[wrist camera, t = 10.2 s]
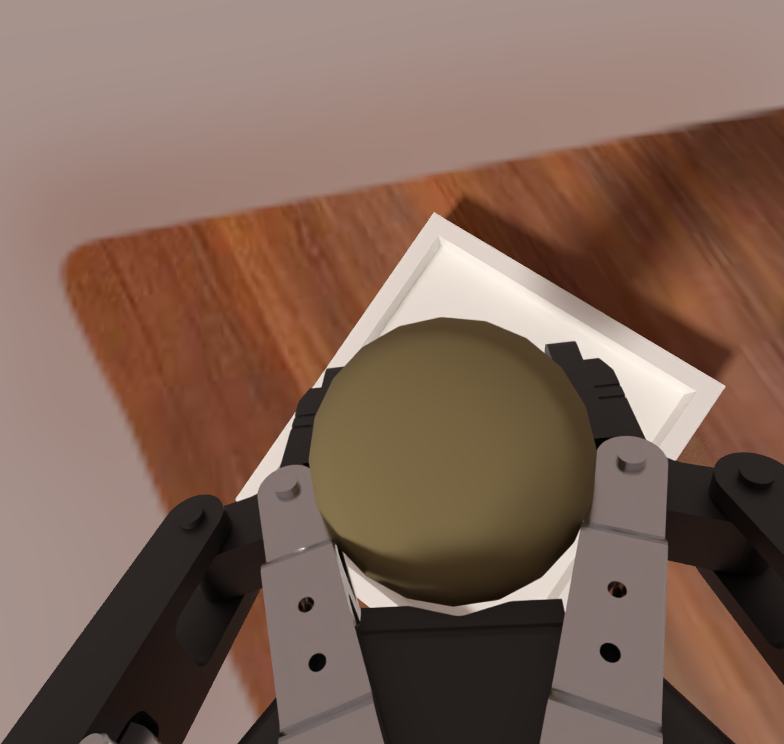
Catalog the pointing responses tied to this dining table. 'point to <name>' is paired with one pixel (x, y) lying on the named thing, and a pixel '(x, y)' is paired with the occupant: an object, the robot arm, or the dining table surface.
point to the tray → (541, 326)
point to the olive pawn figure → (452, 461)
